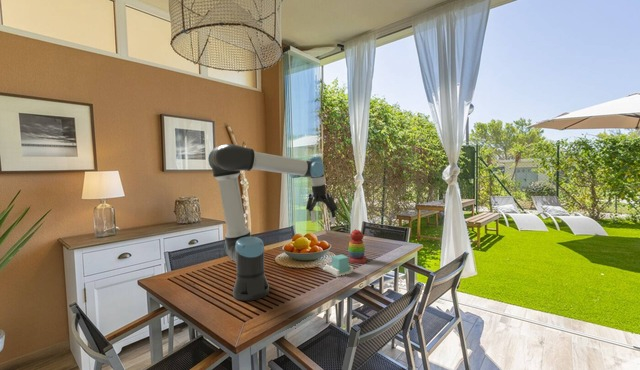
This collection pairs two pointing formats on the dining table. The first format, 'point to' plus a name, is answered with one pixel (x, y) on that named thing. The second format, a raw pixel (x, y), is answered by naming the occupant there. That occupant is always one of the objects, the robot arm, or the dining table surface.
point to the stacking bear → (357, 248)
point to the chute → (334, 271)
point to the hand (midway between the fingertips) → (323, 222)
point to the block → (340, 263)
